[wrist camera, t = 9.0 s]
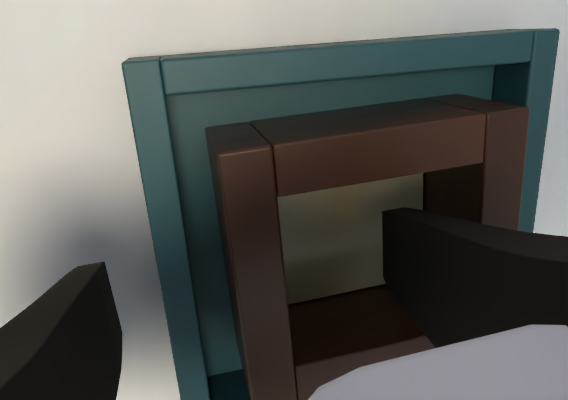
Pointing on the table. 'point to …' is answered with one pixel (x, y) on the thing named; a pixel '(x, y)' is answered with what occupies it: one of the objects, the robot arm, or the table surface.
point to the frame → (347, 224)
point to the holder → (279, 103)
